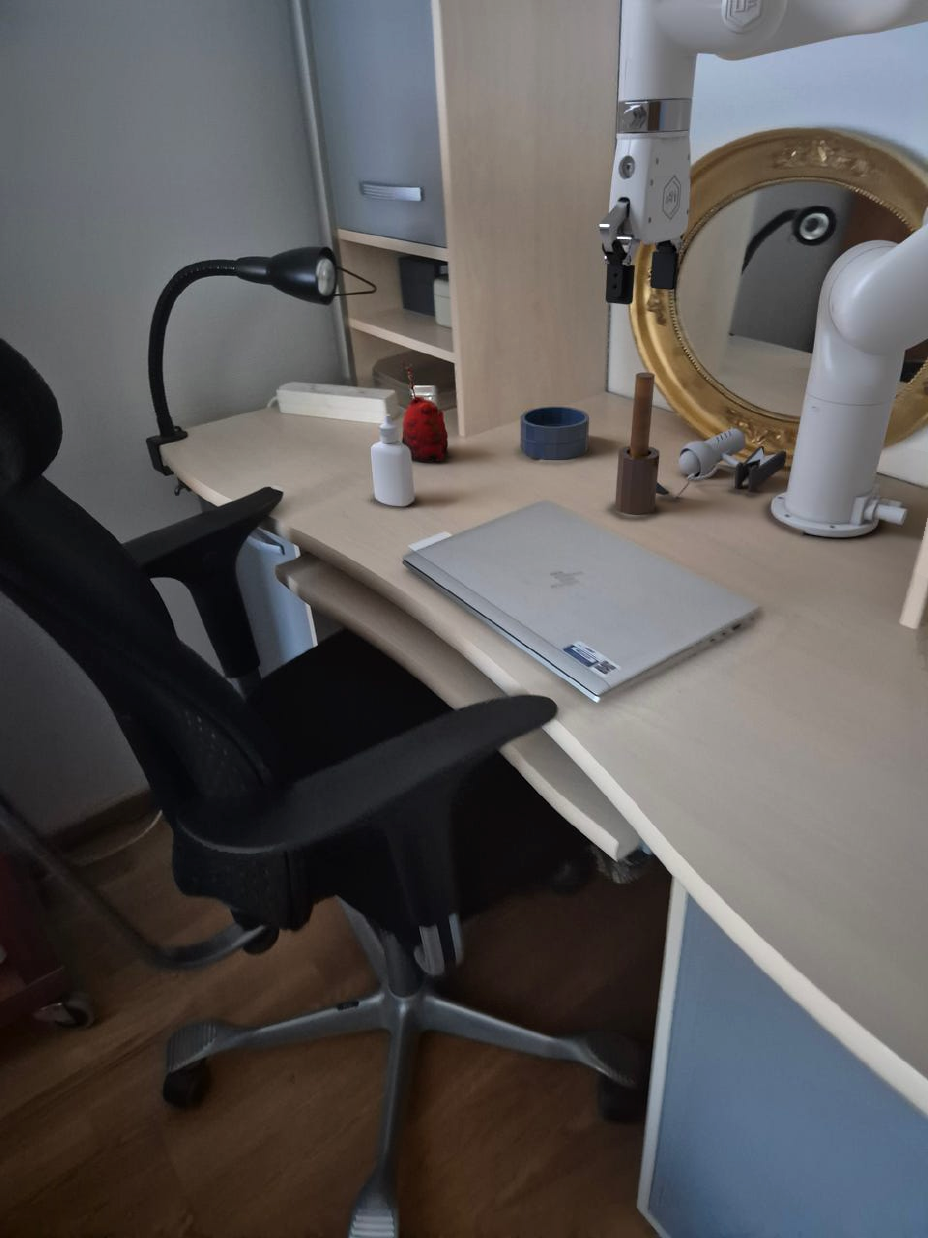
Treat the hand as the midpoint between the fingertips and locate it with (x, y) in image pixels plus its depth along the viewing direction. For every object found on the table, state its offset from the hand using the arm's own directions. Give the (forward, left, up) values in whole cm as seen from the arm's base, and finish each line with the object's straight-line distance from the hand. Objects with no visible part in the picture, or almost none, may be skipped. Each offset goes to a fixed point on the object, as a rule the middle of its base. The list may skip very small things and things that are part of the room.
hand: (641, 295), depth 93 cm
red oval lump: (+34, +2, -26) cm, 43 cm away
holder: (-2, +1, -26) cm, 26 cm away
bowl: (+19, -11, -26) cm, 34 cm away
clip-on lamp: (-6, -12, -26) cm, 30 cm away
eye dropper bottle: (+26, +17, -26) cm, 41 cm away
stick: (-2, +1, -26) cm, 26 cm away
